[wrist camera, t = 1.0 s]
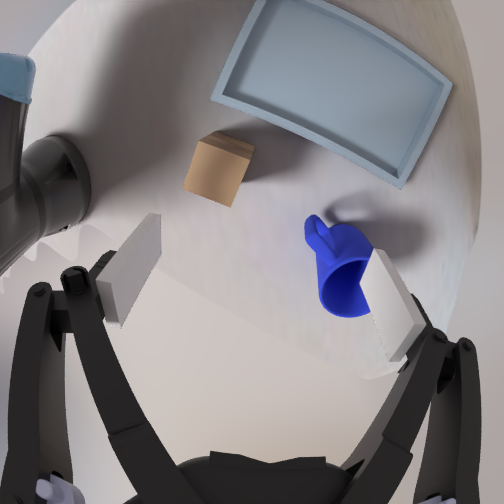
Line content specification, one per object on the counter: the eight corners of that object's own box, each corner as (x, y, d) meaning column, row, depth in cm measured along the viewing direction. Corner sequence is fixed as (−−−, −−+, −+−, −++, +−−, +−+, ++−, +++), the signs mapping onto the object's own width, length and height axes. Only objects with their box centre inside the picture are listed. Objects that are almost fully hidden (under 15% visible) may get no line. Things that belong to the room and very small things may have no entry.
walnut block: (201, 168, 33) (182, 188, 26) (215, 131, 30) (198, 140, 23) (239, 183, 33) (230, 207, 27) (255, 146, 31) (250, 160, 24)
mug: (327, 181, 32) (346, 213, 24) (378, 246, 36) (403, 290, 28) (277, 222, 36) (278, 266, 27) (333, 279, 40) (345, 328, 31)
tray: (214, 99, 28) (209, 99, 26) (267, -12, 20) (267, -20, 18) (393, 183, 32) (400, 190, 29) (442, 83, 24) (453, 83, 22)
